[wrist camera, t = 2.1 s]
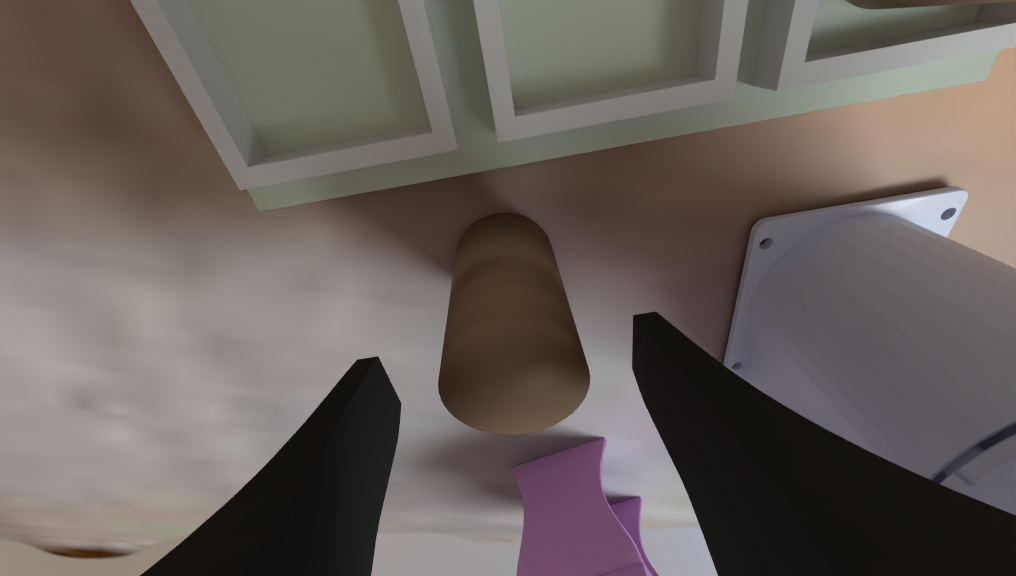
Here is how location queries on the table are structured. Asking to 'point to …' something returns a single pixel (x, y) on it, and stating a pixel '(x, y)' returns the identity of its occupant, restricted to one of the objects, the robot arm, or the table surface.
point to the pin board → (532, 76)
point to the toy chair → (577, 519)
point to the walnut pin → (510, 332)
